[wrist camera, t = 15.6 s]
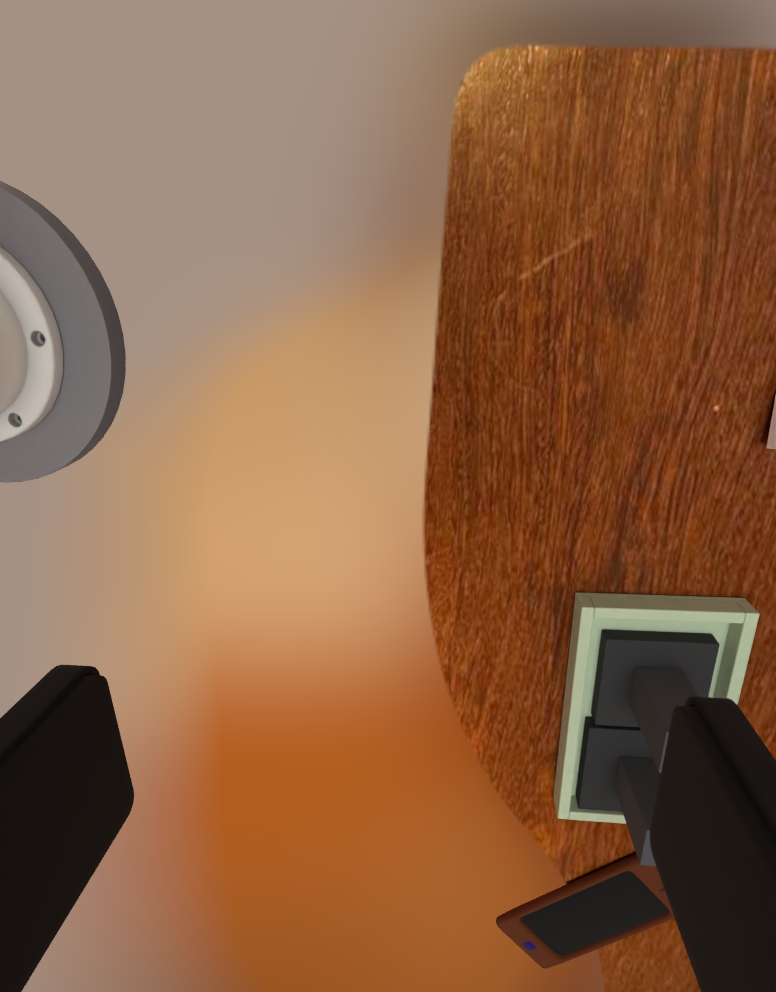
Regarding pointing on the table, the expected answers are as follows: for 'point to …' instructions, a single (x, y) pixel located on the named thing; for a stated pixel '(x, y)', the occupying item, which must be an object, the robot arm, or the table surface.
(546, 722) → the table surface
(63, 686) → the robot arm
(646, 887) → the smartphone
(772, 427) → the bracket
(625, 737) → the black base pad
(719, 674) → the frame tray
